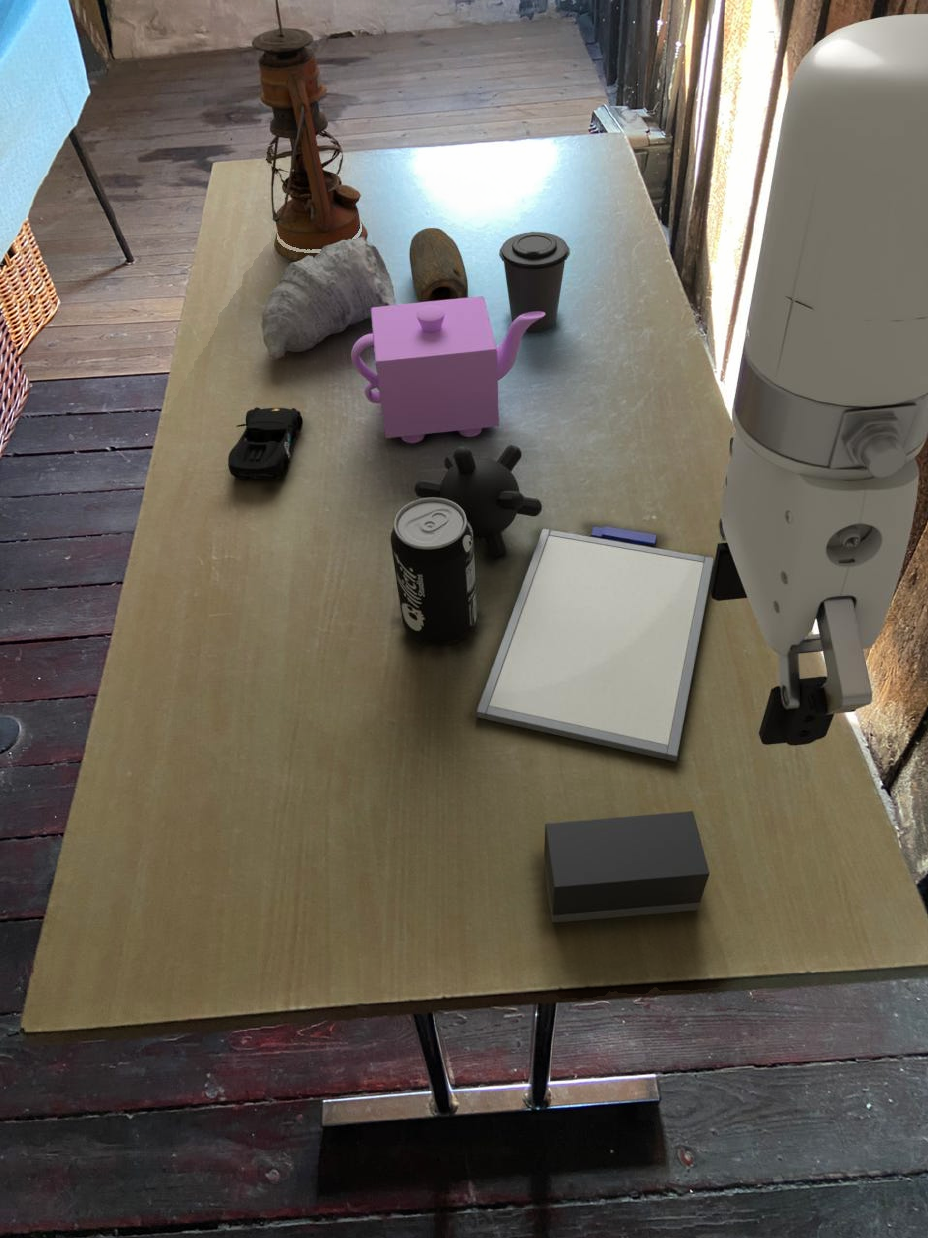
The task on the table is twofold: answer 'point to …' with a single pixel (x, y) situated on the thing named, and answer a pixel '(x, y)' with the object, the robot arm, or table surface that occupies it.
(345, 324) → the seashell
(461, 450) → the toy ball
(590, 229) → the table surface
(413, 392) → the teapot
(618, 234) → the table surface
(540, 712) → the whiteboard
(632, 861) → the whiteboard eraser
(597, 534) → the blue bar
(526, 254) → the coffee cup
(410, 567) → the beverage can
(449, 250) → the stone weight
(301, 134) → the lantern
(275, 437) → the toy car
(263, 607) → the table surface
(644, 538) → the blue rectangular bar
